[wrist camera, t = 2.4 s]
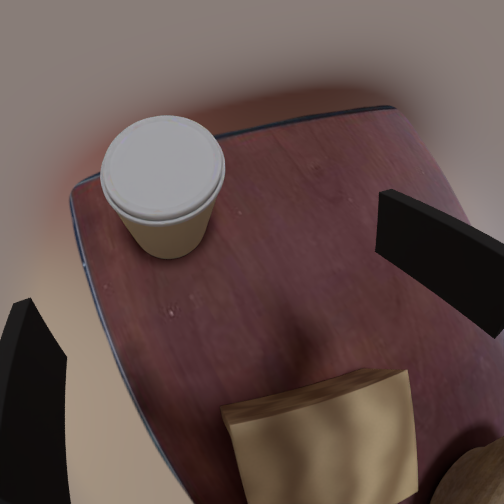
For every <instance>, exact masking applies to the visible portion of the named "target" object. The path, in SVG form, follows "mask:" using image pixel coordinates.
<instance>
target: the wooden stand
mask: <svg viewBox="0 0 504 504" xmlns="http://www.w3.org/2000/svg"><path fill="white" fill-rule="evenodd" d="M220 410H221V415H222V419H223V421H224V424H225V426H226V428H227V430H228V432H229V434H230V436H231V440H232V444H233V448H234V452H235V456H236V460H237V465H238V468H239V472H240V476H241V480H242V484H243V488H244V492H245V495H246V499H247V503H248V504H397V503H399V502H401V501H402V500H404V499H406V498H407V497H409V496H411V495H413V494H414V493H416V492H417V491H418V469H417V450H416V436H415V425H414V415H413V406H412V398H411V390H410V383H409V377H408V370H393V369H366V368H363V369H360V370H357V371H354V372H351V373H348V374H345V375H342V376H339V377H336V378H332V379H329V380H326V381H323V382H319V383H316V384H312V385H309V386H305V387H302V388H298V389H294V390H290V391H287V392H283V393H279V394H274V395H270V396H266V397H262V398H257V399H253V400H248V401H243V402H238V403H233V404H228V405H223V406H220Z"/></svg>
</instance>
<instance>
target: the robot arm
mask: <svg viewBox="0 0 504 504" xmlns="http://www.w3.org/2000/svg"><path fill="white" fill-rule="evenodd" d="M375 252H376V253H378V254H379V255H381V256H382V257H384V258H385V259H387V260H388V261H390V262H391V263H392V264H394V265H395V266H397V267H398V268H400V269H401V270H403V271H404V272H406V273H407V274H408V275H410V276H411V277H413V278H414V279H416V280H417V281H418V282H420V283H421V284H423V285H424V286H425V287H427V288H428V289H429V290H431V291H432V292H434V293H435V294H436V295H438V296H439V297H440V298H442V299H443V300H445V301H446V302H447V303H449V304H450V305H451V306H453V307H454V308H455V309H457V310H458V311H459V312H461V313H462V314H463V315H464V316H466V317H467V318H468V319H470V320H471V321H472V322H474V323H475V324H476V325H477V326H479V327H480V328H481V329H482V330H484V331H485V332H486V333H487V334H489V335H490V336H491V337H492V338H494V339H495V338H496V337H497V336H498V335H499V334H500V332H501V331H502V330H503V329H504V244H503V243H501V242H499V241H498V240H496V239H494V238H492V237H490V236H489V235H487V234H485V233H483V232H481V231H479V230H478V229H475V228H474V227H472V226H470V225H468V224H466V223H464V222H462V221H460V220H458V219H456V218H454V217H452V216H450V215H448V214H446V213H444V212H442V211H440V210H438V209H436V208H434V207H431V206H429V205H427V204H425V203H423V202H421V201H418V200H416V199H414V198H412V197H409V196H407V195H405V194H403V193H400V192H398V191H396V190H393V189H389V190H386V191H382V192H379V205H378V222H377V236H376V248H375ZM66 366H67V356H66V355H65V353H64V352H63V350H62V349H61V347H60V346H59V344H58V343H57V341H56V340H55V338H54V336H53V335H52V333H51V332H50V330H49V328H48V327H47V325H46V323H45V322H44V320H43V319H42V317H41V315H40V313H39V312H38V310H37V308H36V306H35V304H34V303H33V301H32V299H31V298H28V299H25V300H22V301H19V302H16V303H14V304H13V306H12V309H11V311H10V314H9V316H8V319H7V322H6V325H5V328H4V330H3V333H2V337H1V340H0V504H71V501H70V493H69V485H68V475H67V465H66V464H67V463H66V447H65V384H66V383H65V382H66Z"/></svg>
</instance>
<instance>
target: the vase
mask: <svg viewBox="0 0 504 504" xmlns="http://www.w3.org/2000/svg"><path fill="white" fill-rule="evenodd" d="M430 504H504V436H503V437H501V438H499V439H497V440H496V441H494V442H492V443H490V444H489V445H487V446H485V447H477V448H474V449H472V450H470V451H468V452H466V453H465V454H464V455H463V456H461V457H460V458H459V459H458V460H457V461H456V462H455V463H454V464H453V465H452V466H451V468H450V469H449V470H448V471H447V472H446V474H445V475H444V477H443V478H442V480H441V481H440V483H439V485H438V486H437V488H436V490H435V492H434V494H433V497H432V499H431V502H430Z"/></svg>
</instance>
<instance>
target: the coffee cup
mask: <svg viewBox="0 0 504 504" xmlns="http://www.w3.org/2000/svg"><path fill="white" fill-rule="evenodd" d="M224 176H225V159H224V155H223V152H222V150H221V148H220V146H219V144H218V142H217V141H216V139H215V138H214V137H213V135H212V134H211V133H210V132H209V131H208V130H207V129H206V128H204V127H203V126H201V125H200V124H198V123H196V122H194V121H192V120H190V119H187V118H183V117H177V116H156V117H151V118H147V119H144V120H141V121H138V122H136V123H134V124H132V125H131V126H129V127H127V128H126V129H125V130H123V131H122V132H121V133H120V134H119V135H118V136H117V137H116V138H115V139H114V140H113V142H112V143H111V144H110V146H109V148H108V150H107V152H106V154H105V157H104V159H103V162H102V167H101V185H102V189H103V193H104V195H105V197H106V199H107V201H108V202H109V204H110V205H111V206H112V208H113V209H114V210H115V211H116V212H117V214H118V215H119V217H120V218H121V220H122V221H123V223H124V224H125V226H126V227H127V228H128V230H129V231H130V233H131V234H132V236H133V237H134V238H135V240H136V241H137V242H138V244H139V245H140V246H141V247H142V248H143V249H144V250H145V251H146V252H147V253H149V254H150V255H152V256H155V257H158V258H162V259H174V258H179V257H182V256H184V255H186V254H188V253H190V252H191V251H192V250H194V249H195V248H196V247H197V245H198V244H199V243H200V241H201V240H202V238H203V235H204V233H205V230H206V227H207V224H208V222H209V219H210V216H211V213H212V210H213V207H214V204H215V201H216V198H217V195H218V193H219V191H220V189H221V186H222V184H223V181H224Z"/></svg>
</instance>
